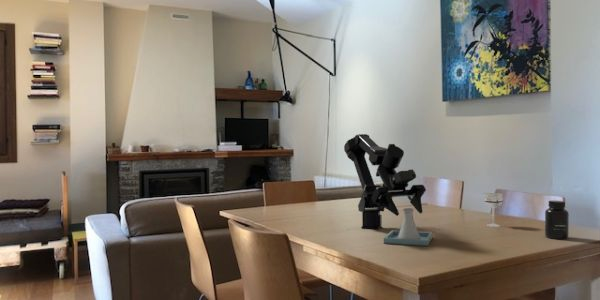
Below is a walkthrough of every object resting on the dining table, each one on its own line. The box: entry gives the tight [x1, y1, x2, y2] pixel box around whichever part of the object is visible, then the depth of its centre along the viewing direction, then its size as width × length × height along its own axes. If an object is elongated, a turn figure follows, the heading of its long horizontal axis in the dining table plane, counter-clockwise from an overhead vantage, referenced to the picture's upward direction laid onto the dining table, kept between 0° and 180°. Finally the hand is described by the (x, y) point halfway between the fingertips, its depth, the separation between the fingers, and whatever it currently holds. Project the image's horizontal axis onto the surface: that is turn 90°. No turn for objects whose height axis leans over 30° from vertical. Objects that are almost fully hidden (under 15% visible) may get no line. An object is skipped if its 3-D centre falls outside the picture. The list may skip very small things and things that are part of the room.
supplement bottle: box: [544, 200, 570, 240], centre depth 154 cm, size 7×7×12 cm
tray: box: [383, 229, 433, 247], centre depth 153 cm, size 14×14×2 cm
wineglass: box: [483, 192, 504, 228], centre depth 177 cm, size 7×7×12 cm
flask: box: [398, 207, 420, 240], centre depth 153 cm, size 7×7×10 cm
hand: (409, 213), depth 152 cm, fingers open, 9 cm apart
